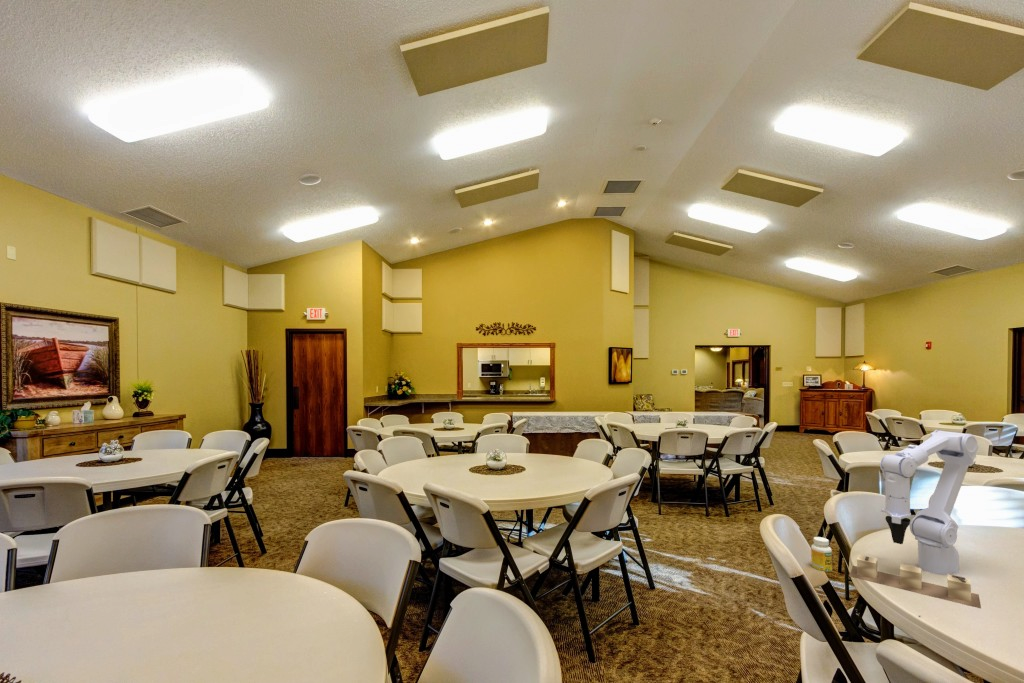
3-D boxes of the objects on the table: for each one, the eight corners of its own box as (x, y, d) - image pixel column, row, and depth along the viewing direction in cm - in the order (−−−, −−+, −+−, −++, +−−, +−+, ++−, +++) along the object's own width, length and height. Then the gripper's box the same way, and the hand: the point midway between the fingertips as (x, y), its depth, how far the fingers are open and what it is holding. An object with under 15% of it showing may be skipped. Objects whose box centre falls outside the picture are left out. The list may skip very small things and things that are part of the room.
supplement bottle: (816, 565, 152) (816, 534, 152) (835, 572, 147) (835, 540, 148) (808, 569, 149) (807, 538, 149) (827, 576, 144) (826, 543, 145)
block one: (857, 574, 143) (856, 558, 143) (858, 569, 147) (858, 553, 147) (876, 579, 140) (875, 562, 140) (877, 574, 144) (877, 557, 144)
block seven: (948, 596, 130) (947, 578, 130) (947, 590, 133) (947, 573, 133) (971, 602, 127) (970, 583, 127) (970, 596, 130) (969, 577, 131)
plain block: (900, 585, 137) (900, 568, 137) (901, 579, 140) (900, 564, 140) (921, 590, 134) (920, 573, 134) (921, 584, 137) (921, 568, 137)
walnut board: (848, 579, 142) (848, 576, 142) (853, 568, 150) (853, 565, 150) (981, 612, 124) (981, 608, 124) (978, 598, 131) (978, 594, 131)
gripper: (882, 489, 152) (883, 533, 151) (878, 498, 141) (878, 545, 141) (911, 493, 147) (912, 539, 147) (909, 503, 137) (910, 552, 136)
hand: (898, 542), depth 143 cm, fingers closed
